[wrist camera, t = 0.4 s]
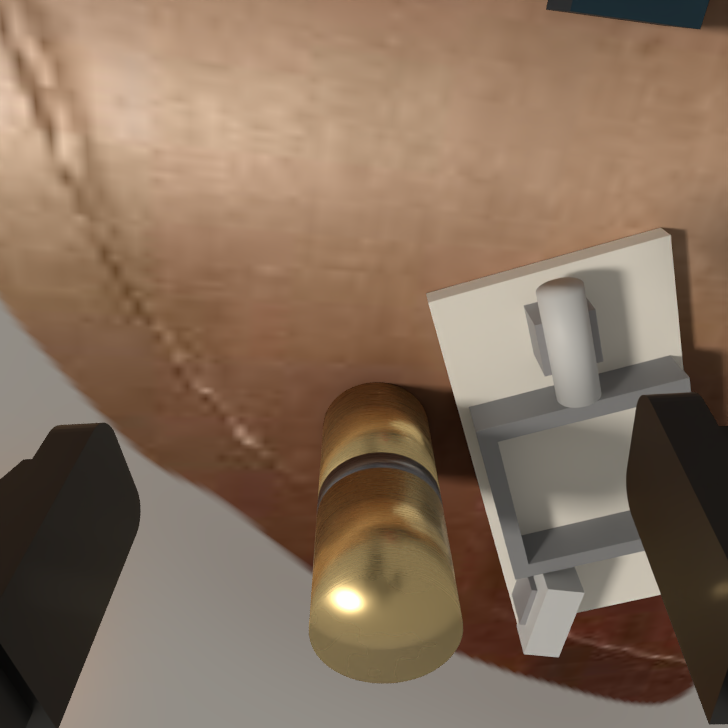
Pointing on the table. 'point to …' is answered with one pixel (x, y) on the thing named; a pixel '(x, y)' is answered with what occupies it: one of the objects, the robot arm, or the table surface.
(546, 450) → the stand
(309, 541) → the table surface
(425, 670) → the cylinder
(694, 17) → the watch
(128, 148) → the table surface
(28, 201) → the table surface
